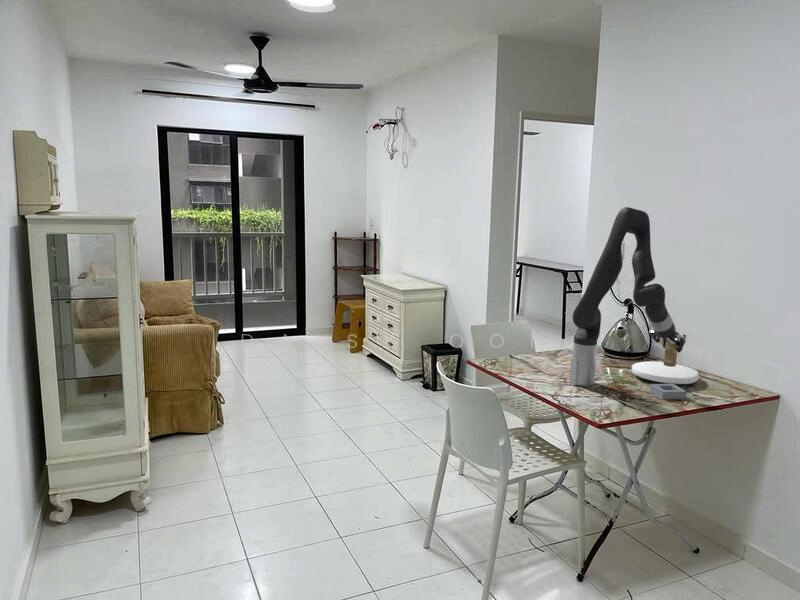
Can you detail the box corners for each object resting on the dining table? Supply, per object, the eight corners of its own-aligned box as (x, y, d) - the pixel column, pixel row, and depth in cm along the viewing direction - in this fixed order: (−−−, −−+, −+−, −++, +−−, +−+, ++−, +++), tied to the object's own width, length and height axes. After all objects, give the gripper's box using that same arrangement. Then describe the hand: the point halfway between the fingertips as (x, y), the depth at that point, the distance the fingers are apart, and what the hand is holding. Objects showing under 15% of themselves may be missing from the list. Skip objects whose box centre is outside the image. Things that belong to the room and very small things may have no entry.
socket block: (662, 399, 223) (662, 391, 223) (649, 391, 233) (650, 384, 232) (685, 398, 224) (686, 391, 224) (672, 390, 234) (672, 383, 233)
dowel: (667, 366, 224) (670, 334, 222) (661, 363, 228) (664, 331, 226) (678, 366, 224) (681, 334, 222) (671, 363, 229) (675, 331, 226)
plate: (626, 357, 266) (689, 361, 260) (625, 371, 266) (688, 376, 261) (639, 368, 238) (709, 373, 233) (638, 383, 239) (708, 389, 233)
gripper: (684, 318, 213) (695, 345, 222) (647, 312, 223) (659, 338, 233) (676, 334, 210) (688, 361, 220) (639, 327, 221) (651, 352, 231)
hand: (673, 349), depth 226 cm, fingers closed on dowel, 4 cm apart
